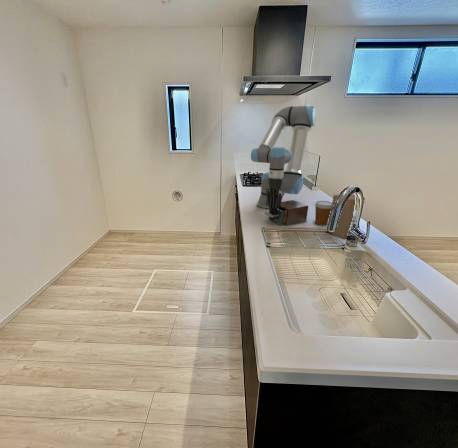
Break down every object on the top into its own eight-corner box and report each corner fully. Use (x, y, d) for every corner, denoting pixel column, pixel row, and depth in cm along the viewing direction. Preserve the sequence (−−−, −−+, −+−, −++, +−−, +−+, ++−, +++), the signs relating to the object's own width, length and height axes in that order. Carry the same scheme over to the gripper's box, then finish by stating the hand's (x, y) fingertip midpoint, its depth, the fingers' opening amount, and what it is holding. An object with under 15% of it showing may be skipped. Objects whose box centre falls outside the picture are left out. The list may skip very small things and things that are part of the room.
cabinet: (286, 225, 133) (288, 209, 129) (272, 218, 143) (273, 203, 140) (306, 221, 139) (308, 205, 135) (291, 214, 149) (293, 200, 146)
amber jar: (327, 220, 140) (330, 200, 136) (332, 226, 132) (336, 205, 127) (310, 219, 141) (313, 200, 137) (314, 225, 133) (318, 205, 128)
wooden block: (356, 235, 121) (365, 197, 114) (343, 239, 117) (351, 199, 109) (339, 228, 129) (346, 192, 122) (326, 231, 125) (333, 194, 118)
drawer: (273, 226, 130) (274, 212, 127) (261, 219, 139) (262, 207, 136) (299, 220, 137) (301, 208, 134) (286, 214, 147) (287, 202, 144)
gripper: (262, 176, 130) (259, 216, 139) (278, 180, 119) (274, 224, 128) (273, 175, 133) (270, 214, 142) (289, 179, 122) (285, 222, 131)
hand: (272, 219), depth 135 cm, fingers closed
